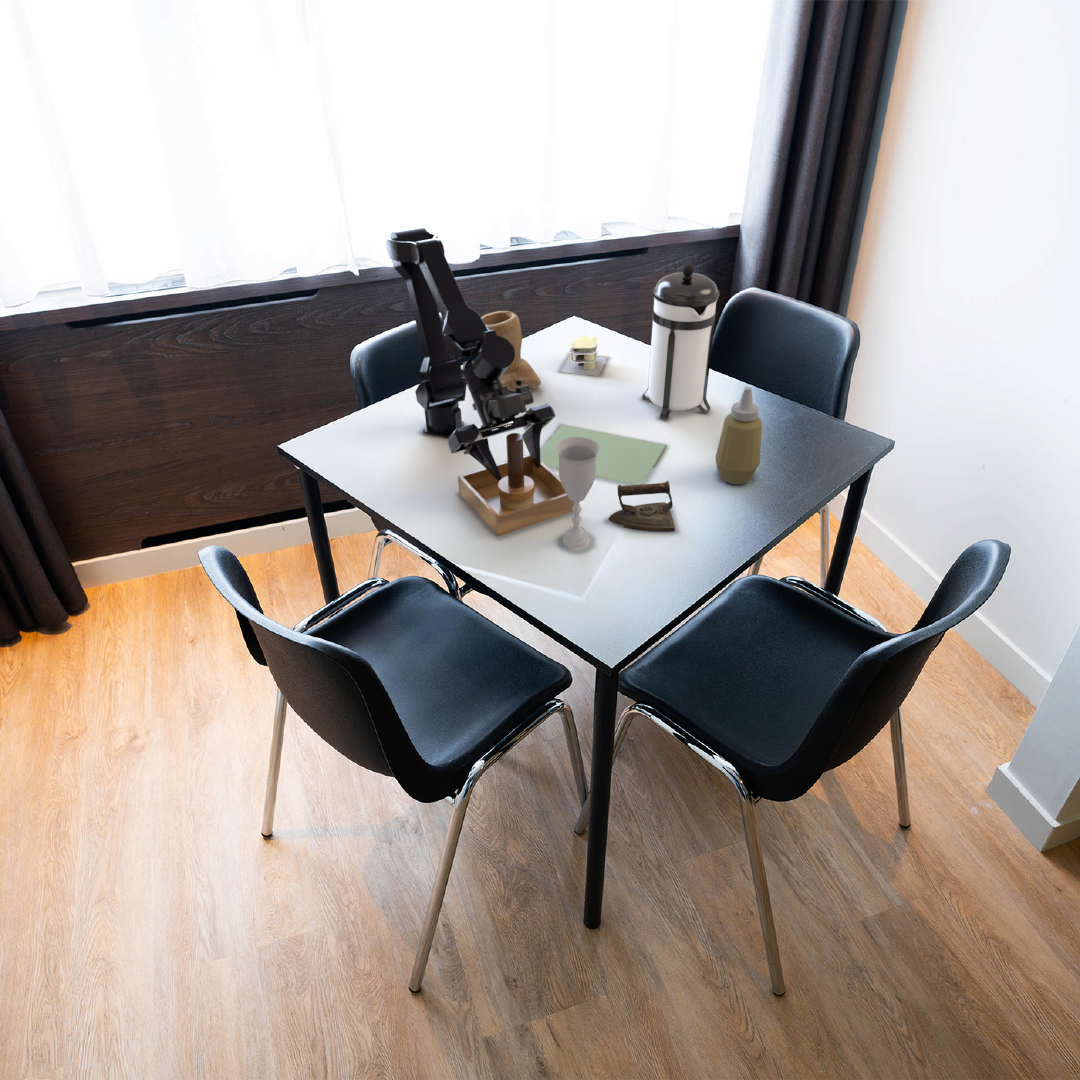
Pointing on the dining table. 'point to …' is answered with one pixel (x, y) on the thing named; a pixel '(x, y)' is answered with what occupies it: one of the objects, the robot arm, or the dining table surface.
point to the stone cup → (511, 330)
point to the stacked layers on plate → (584, 357)
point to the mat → (610, 454)
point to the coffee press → (681, 341)
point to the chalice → (577, 481)
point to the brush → (515, 477)
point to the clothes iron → (645, 509)
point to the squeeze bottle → (740, 442)
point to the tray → (547, 504)
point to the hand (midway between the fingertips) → (519, 473)
